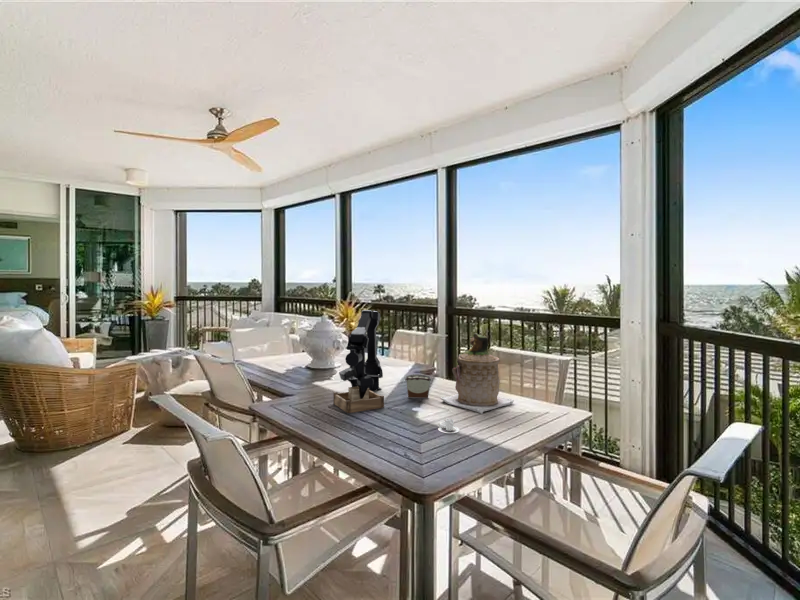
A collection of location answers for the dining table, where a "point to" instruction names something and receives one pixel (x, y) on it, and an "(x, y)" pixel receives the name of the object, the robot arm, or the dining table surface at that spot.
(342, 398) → the crate
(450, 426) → the teacup and saucer
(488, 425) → the dining table surface
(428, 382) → the food container
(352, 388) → the pale crate
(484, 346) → the cookie jar
